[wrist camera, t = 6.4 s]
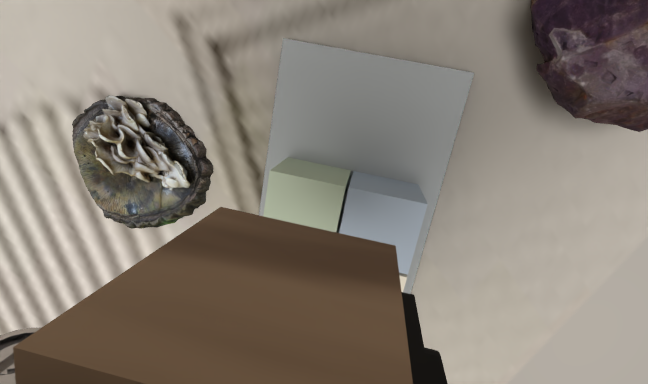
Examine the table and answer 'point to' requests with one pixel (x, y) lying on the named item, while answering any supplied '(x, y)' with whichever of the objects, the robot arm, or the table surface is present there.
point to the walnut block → (235, 313)
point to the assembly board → (367, 119)
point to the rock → (595, 58)
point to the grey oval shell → (140, 161)
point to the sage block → (306, 194)
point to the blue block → (385, 213)
